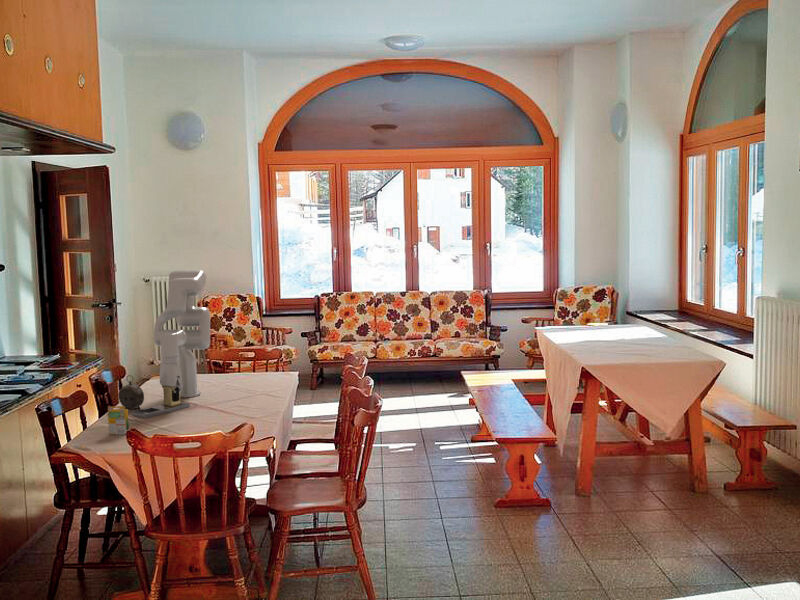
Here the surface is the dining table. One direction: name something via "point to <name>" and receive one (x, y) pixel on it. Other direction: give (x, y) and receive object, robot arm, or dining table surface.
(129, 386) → the alarm clock
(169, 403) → the brushed gold block
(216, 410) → the dining table surface
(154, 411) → the divided tray
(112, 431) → the crayon box
